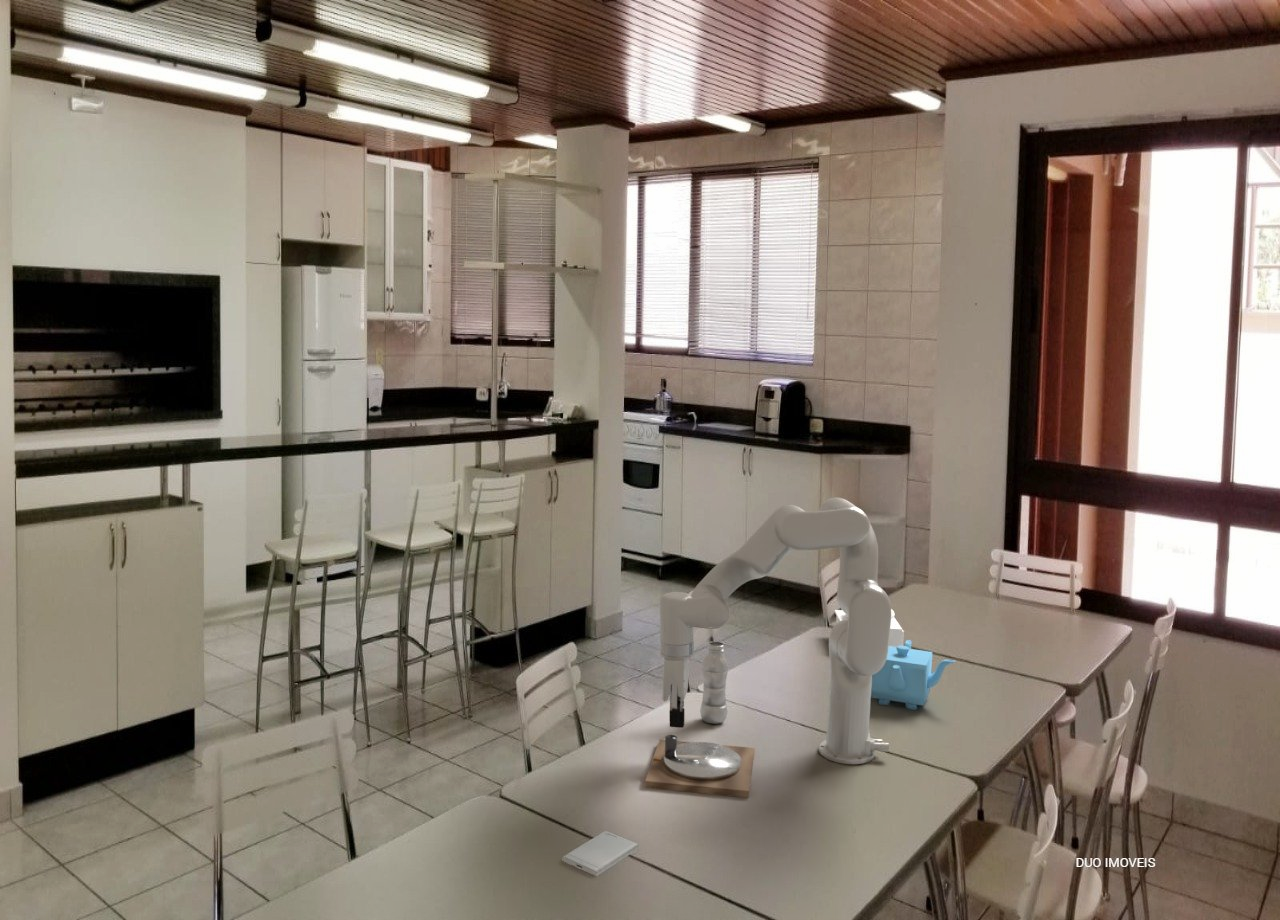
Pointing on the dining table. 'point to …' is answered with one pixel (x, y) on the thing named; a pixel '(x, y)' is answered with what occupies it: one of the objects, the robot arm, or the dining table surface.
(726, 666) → the plastic bottle
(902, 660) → the teakettle
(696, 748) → the dial
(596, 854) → the hard drive
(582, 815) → the dining table surface
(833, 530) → the robot arm
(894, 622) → the butter dish
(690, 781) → the dial base
